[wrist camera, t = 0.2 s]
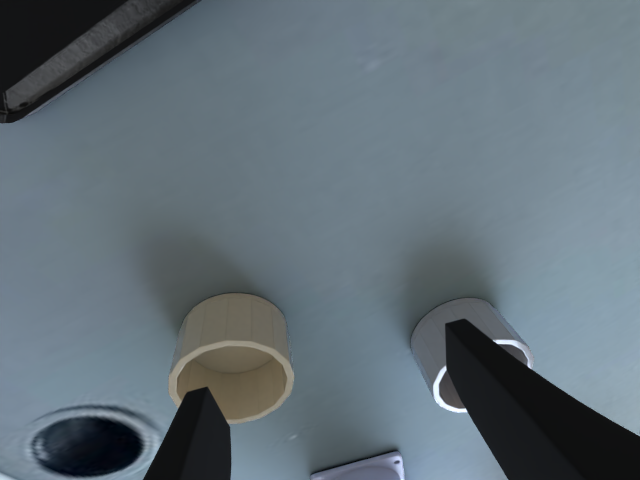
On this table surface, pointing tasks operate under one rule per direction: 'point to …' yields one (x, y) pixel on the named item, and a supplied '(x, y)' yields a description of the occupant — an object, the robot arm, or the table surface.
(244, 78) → the table surface
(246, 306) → the cream cup
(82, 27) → the phone
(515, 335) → the grey cup
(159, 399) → the table surface
